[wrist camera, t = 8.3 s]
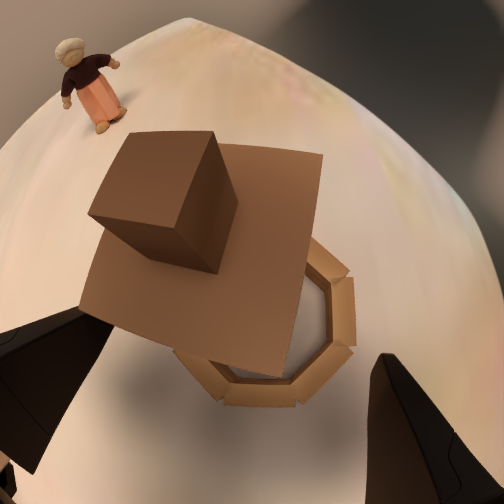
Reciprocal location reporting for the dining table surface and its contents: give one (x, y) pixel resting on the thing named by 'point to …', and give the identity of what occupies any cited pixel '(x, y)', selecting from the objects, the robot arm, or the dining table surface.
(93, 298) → the brown wooden peg
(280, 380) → the bead ring
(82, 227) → the dining table surface
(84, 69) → the grandmother figurine
